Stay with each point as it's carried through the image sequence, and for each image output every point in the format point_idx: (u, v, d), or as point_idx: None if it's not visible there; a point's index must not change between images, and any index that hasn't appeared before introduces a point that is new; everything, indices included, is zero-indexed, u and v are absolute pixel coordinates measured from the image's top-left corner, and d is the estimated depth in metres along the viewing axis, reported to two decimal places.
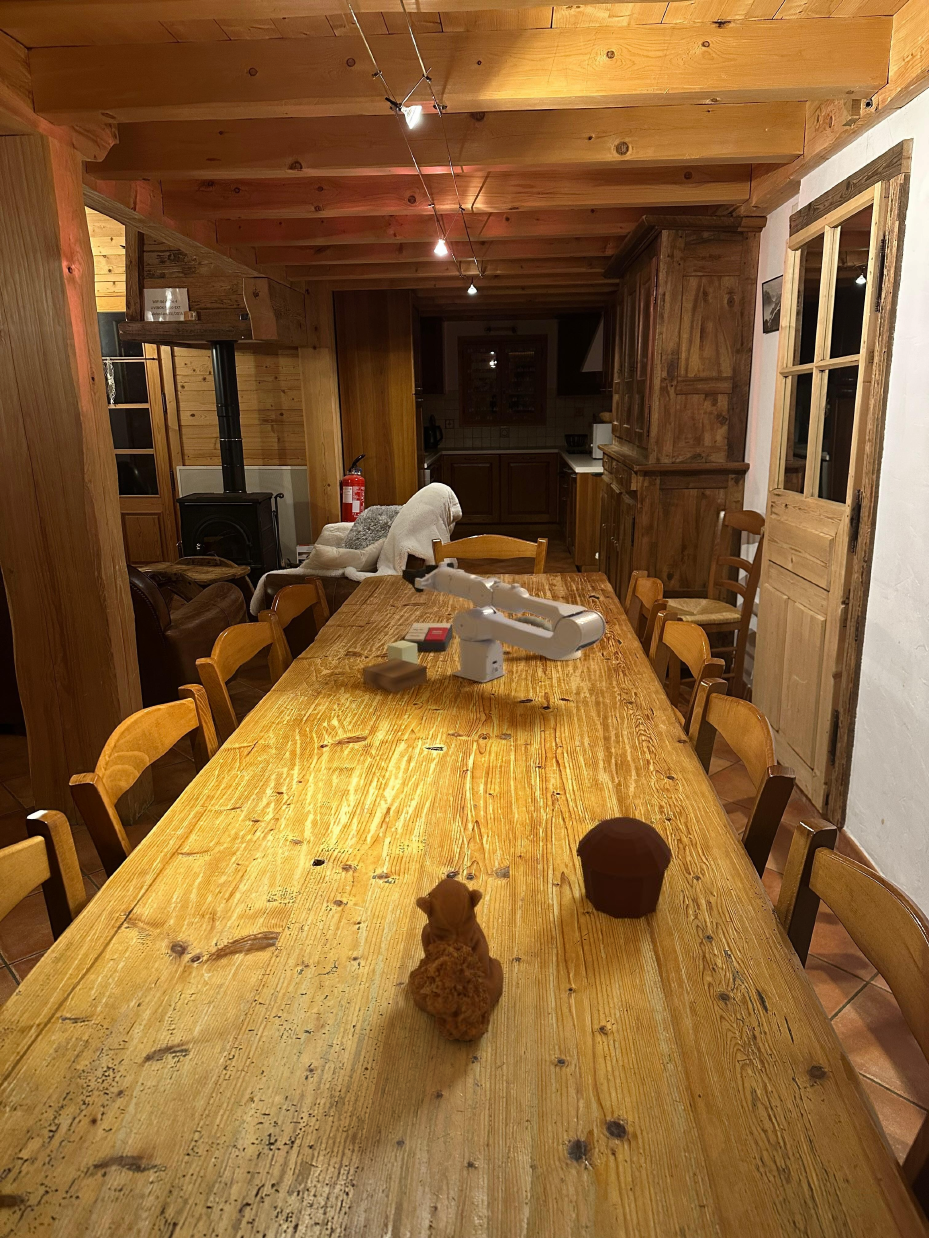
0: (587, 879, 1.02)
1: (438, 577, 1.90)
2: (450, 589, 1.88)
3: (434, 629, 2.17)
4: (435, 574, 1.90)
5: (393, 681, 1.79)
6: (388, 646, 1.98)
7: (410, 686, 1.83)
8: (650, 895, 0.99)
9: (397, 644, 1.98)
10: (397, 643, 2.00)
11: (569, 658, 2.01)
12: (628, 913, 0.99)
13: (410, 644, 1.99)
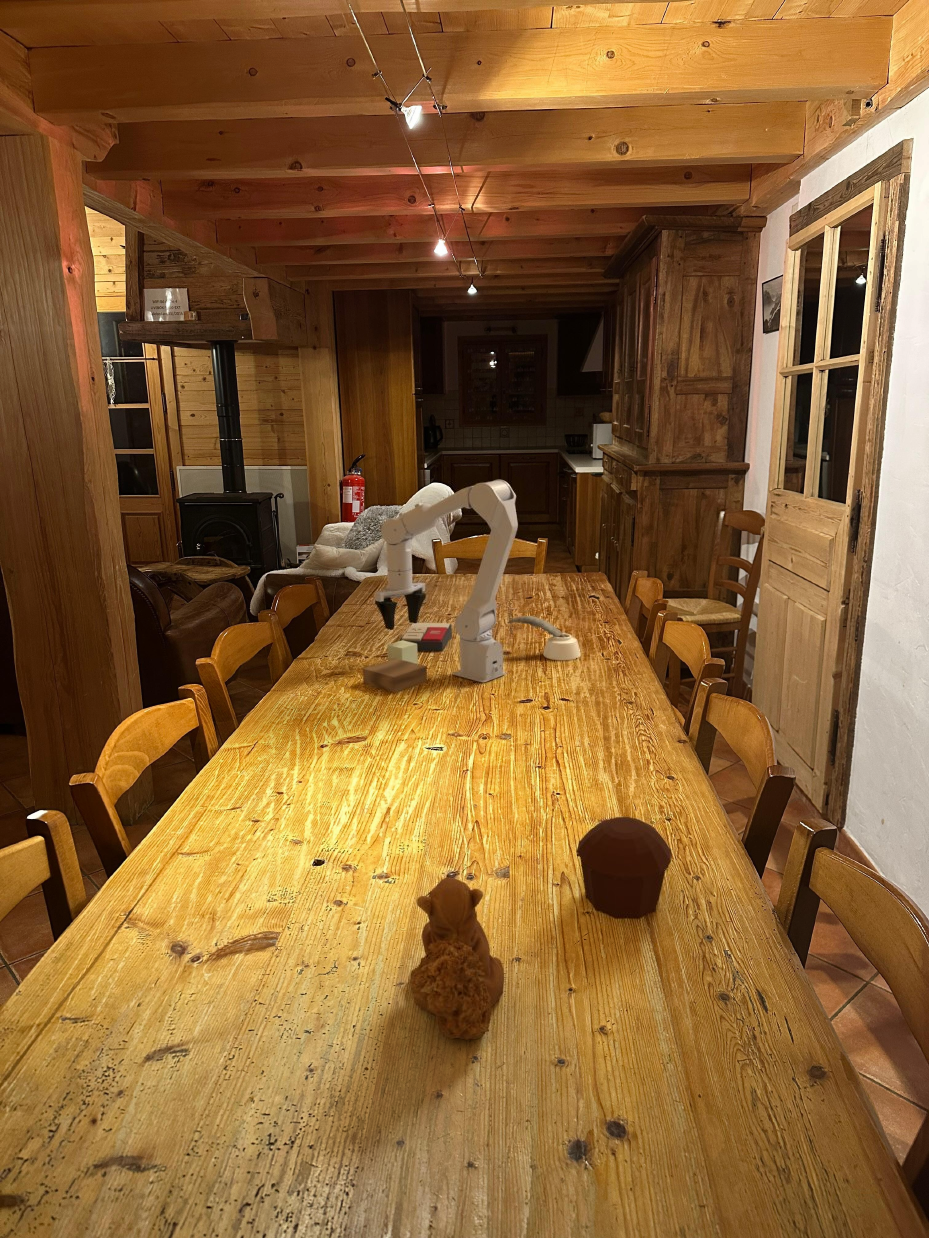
0: (587, 879, 1.02)
1: (388, 584, 1.94)
2: (396, 569, 1.92)
3: (432, 629, 2.17)
4: (387, 589, 1.95)
5: (393, 681, 1.79)
6: (388, 646, 1.98)
7: (410, 686, 1.83)
8: (650, 895, 0.99)
9: (396, 644, 1.98)
10: (397, 643, 2.00)
11: (568, 658, 2.01)
12: (628, 913, 0.99)
13: (410, 644, 1.99)
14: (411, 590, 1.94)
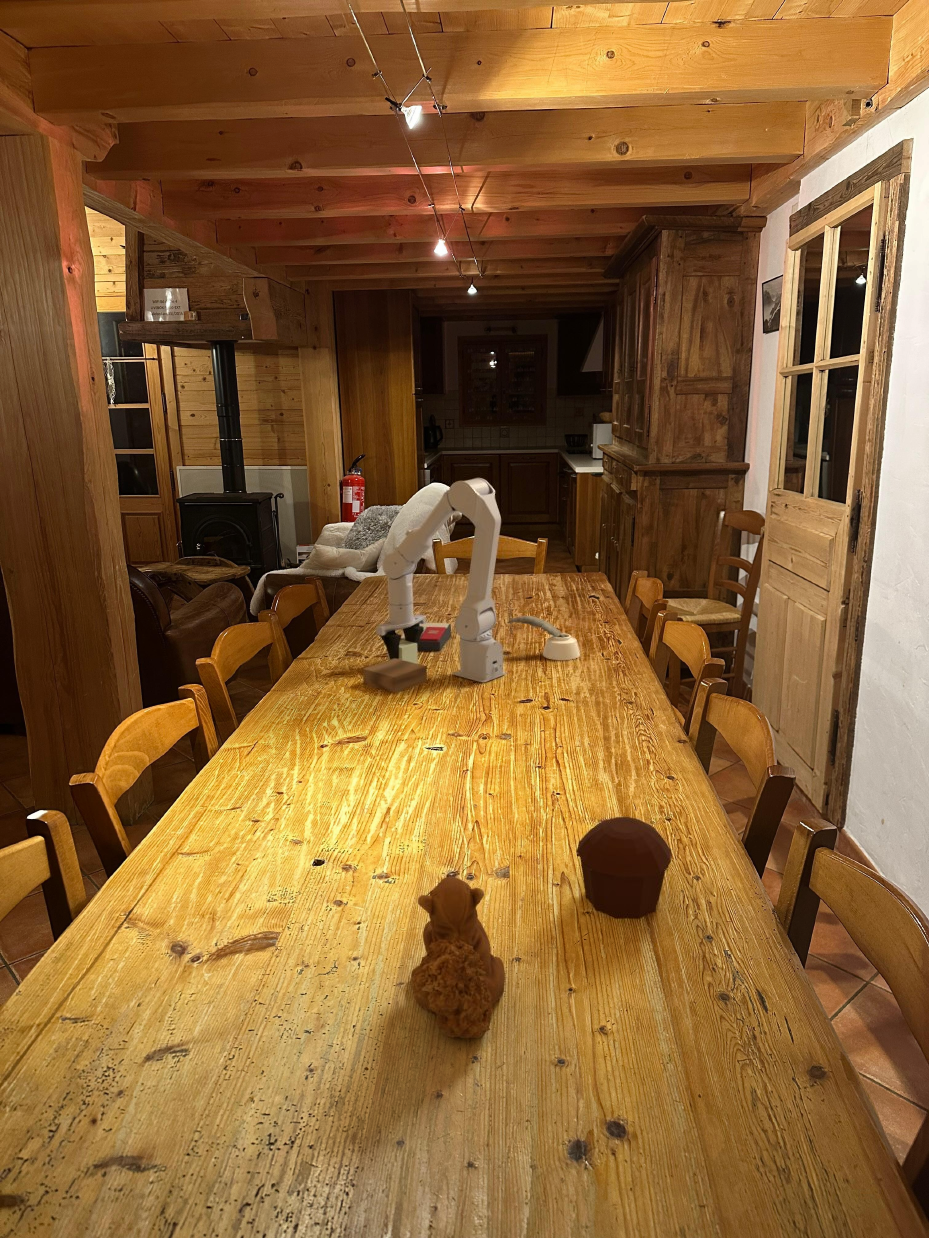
0: (587, 879, 1.02)
1: (389, 618, 1.96)
2: (397, 603, 1.94)
3: (431, 629, 2.17)
4: (388, 622, 1.97)
5: (394, 681, 1.79)
6: None
7: (410, 686, 1.83)
8: (650, 895, 0.99)
9: None
10: None
11: (568, 658, 2.01)
12: (628, 913, 0.99)
13: (410, 644, 1.99)
14: (412, 623, 1.96)
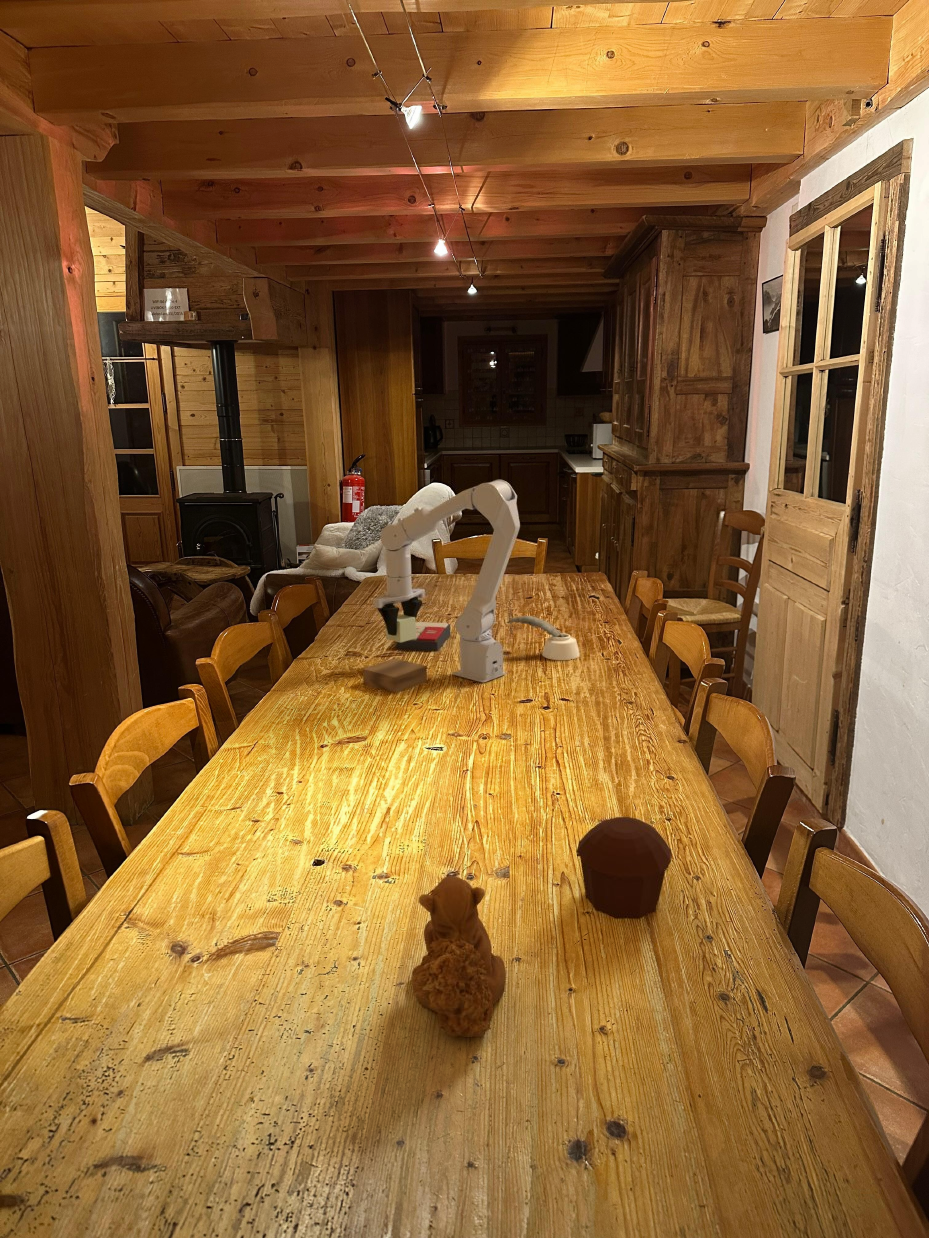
0: (587, 879, 1.02)
1: (387, 590, 1.92)
2: (396, 575, 1.90)
3: (430, 628, 2.18)
4: (386, 595, 1.93)
5: (394, 681, 1.79)
6: None
7: (411, 686, 1.83)
8: (650, 895, 0.99)
9: None
10: None
11: (567, 658, 2.01)
12: (628, 913, 0.99)
13: (408, 618, 1.95)
14: (410, 596, 1.92)
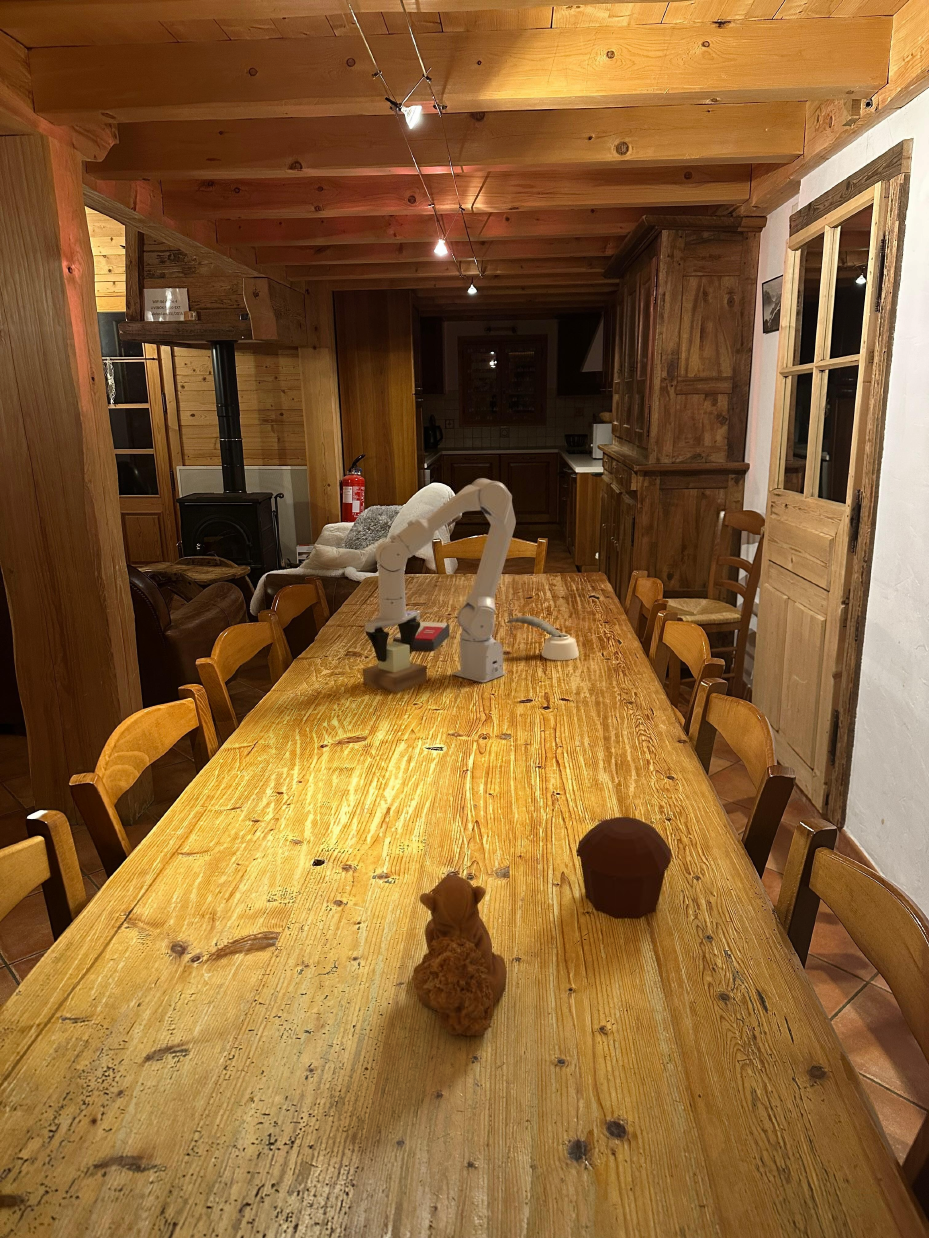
0: (587, 879, 1.02)
1: (380, 613, 1.81)
2: (398, 597, 1.79)
3: (428, 628, 2.18)
4: (379, 618, 1.82)
5: (395, 681, 1.79)
6: None
7: (411, 686, 1.83)
8: (650, 895, 0.99)
9: (387, 646, 1.84)
10: (388, 644, 1.85)
11: (567, 658, 2.01)
12: (628, 913, 0.99)
13: (402, 645, 1.84)
14: (404, 619, 1.81)
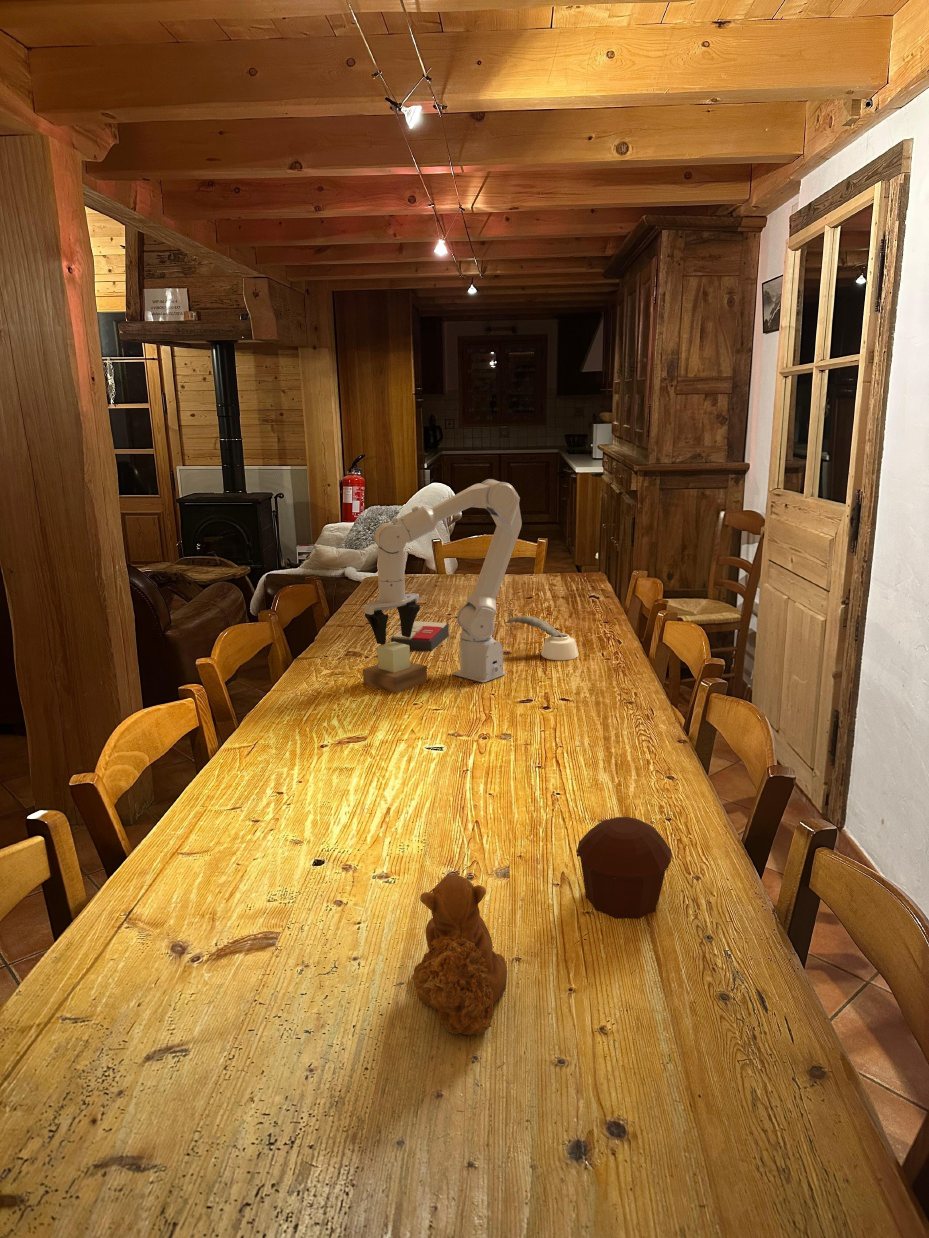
0: (587, 879, 1.02)
1: (379, 596, 1.80)
2: (397, 579, 1.78)
3: (426, 628, 2.18)
4: (378, 600, 1.81)
5: (395, 681, 1.79)
6: (378, 648, 1.84)
7: (411, 686, 1.83)
8: (650, 895, 0.99)
9: (387, 646, 1.84)
10: (388, 645, 1.85)
11: (566, 658, 2.01)
12: (628, 913, 0.99)
13: (402, 646, 1.84)
14: (404, 602, 1.80)
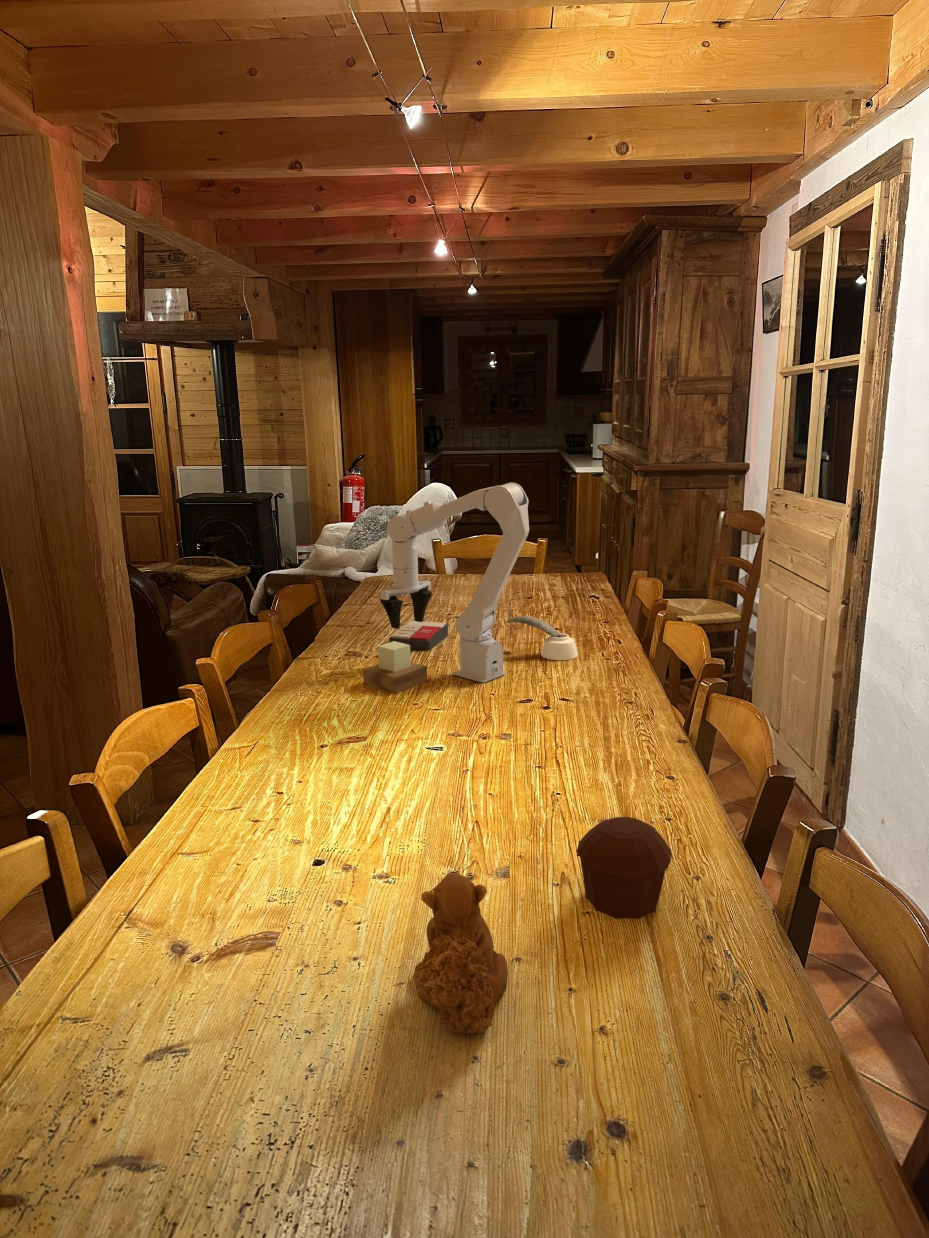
0: (587, 879, 1.02)
1: (394, 582, 1.91)
2: (403, 567, 1.89)
3: (425, 628, 2.18)
4: (393, 587, 1.92)
5: (395, 681, 1.79)
6: (379, 648, 1.84)
7: (411, 686, 1.83)
8: (650, 895, 0.99)
9: (388, 646, 1.84)
10: (388, 644, 1.85)
11: (566, 658, 2.01)
12: (628, 913, 0.99)
13: (402, 645, 1.84)
14: (417, 588, 1.91)
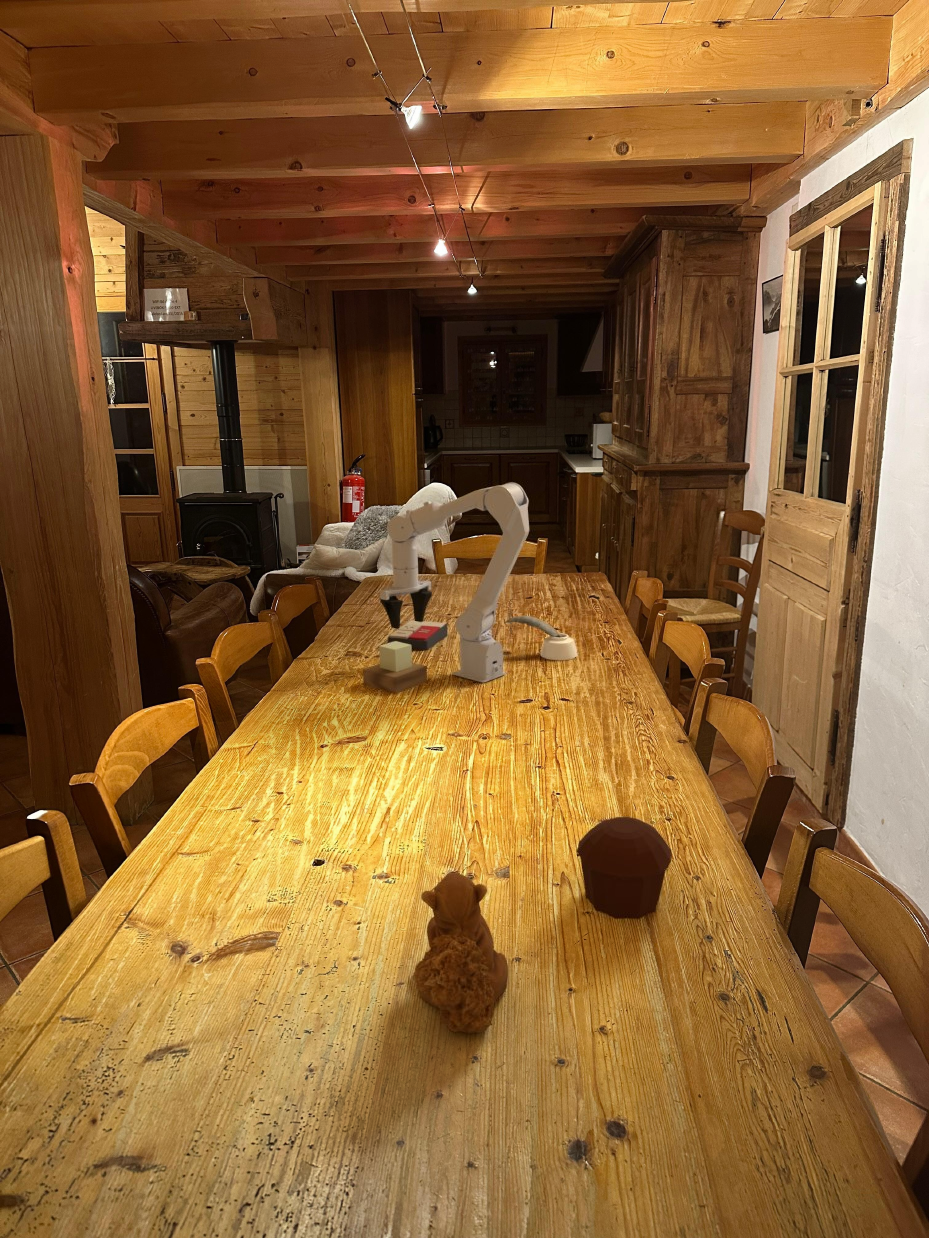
0: (587, 879, 1.02)
1: (394, 582, 1.91)
2: (403, 567, 1.89)
3: (424, 628, 2.19)
4: (393, 587, 1.92)
5: (395, 681, 1.79)
6: (380, 647, 1.84)
7: (411, 686, 1.83)
8: (650, 895, 0.99)
9: (389, 646, 1.84)
10: (390, 644, 1.85)
11: (565, 658, 2.01)
12: (628, 913, 0.99)
13: (404, 645, 1.84)
14: (417, 588, 1.91)
